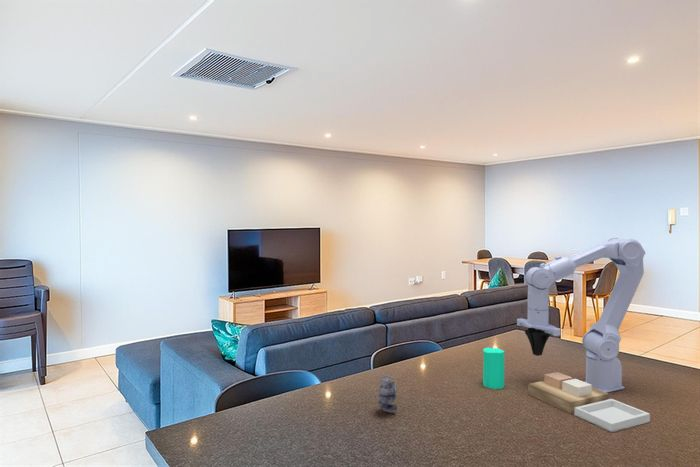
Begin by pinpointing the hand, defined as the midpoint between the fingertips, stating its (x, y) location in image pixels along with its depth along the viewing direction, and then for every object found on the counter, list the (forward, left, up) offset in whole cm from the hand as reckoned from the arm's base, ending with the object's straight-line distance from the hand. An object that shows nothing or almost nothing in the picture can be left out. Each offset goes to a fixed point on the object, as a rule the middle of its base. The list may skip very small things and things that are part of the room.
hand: (537, 354), depth 133 cm
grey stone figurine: (+49, -2, -10) cm, 50 cm away
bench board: (0, +11, -9) cm, 14 cm away
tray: (0, +24, -9) cm, 25 cm away
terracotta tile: (0, +8, -6) cm, 10 cm away
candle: (+11, -6, -10) cm, 16 cm away
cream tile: (0, +14, -6) cm, 15 cm away
